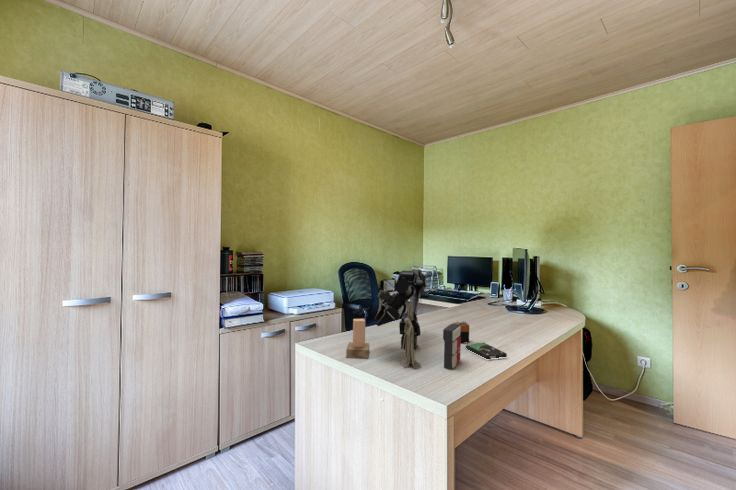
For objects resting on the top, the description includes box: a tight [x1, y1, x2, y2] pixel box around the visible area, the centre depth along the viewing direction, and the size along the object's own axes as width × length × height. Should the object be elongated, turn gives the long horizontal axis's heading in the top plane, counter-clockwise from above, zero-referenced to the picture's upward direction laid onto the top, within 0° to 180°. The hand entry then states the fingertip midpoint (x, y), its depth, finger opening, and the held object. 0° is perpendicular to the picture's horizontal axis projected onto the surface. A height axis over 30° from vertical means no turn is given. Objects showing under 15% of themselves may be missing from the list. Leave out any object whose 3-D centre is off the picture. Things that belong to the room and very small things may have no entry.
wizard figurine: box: [399, 300, 422, 370], centre depth 121 cm, size 10×8×25 cm
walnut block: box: [345, 341, 370, 360], centre depth 131 cm, size 9×9×4 cm
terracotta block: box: [352, 318, 366, 348], centre depth 131 cm, size 4×4×11 cm
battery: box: [452, 320, 470, 344], centre depth 151 cm, size 4×7×10 cm, turn 100°
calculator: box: [442, 323, 462, 370], centre depth 122 cm, size 11×4×15 cm, turn 148°
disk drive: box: [465, 342, 508, 359], centre depth 136 cm, size 10×3×15 cm
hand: (376, 322), depth 132 cm, fingers open, 9 cm apart
